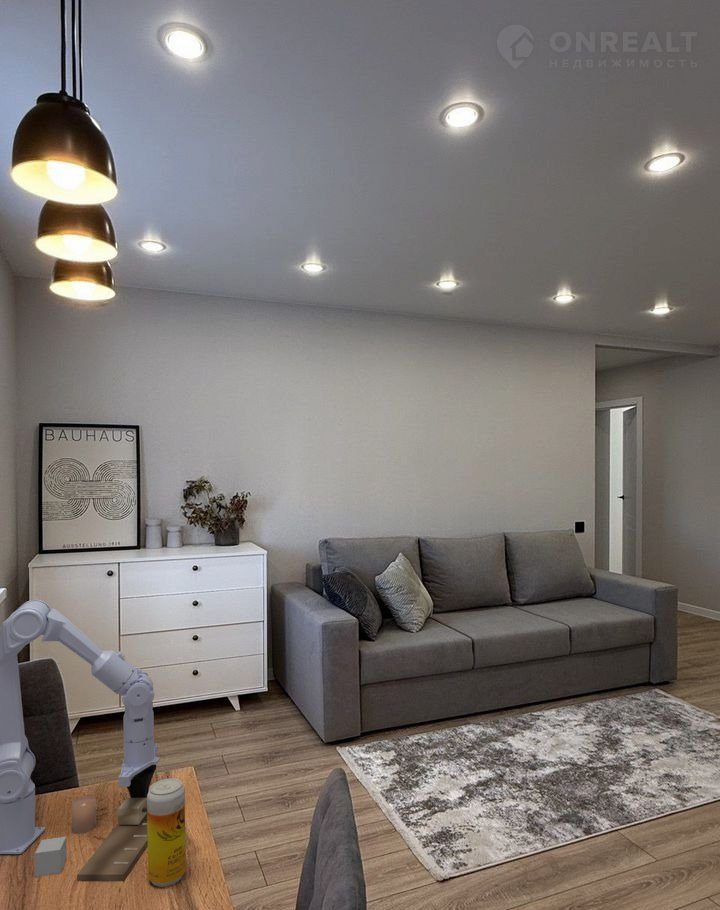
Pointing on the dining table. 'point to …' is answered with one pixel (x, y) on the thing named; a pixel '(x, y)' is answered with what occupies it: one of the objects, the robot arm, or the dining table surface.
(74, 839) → the dining table surface
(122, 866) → the board
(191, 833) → the dining table surface
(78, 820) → the terracotta cylinder
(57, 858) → the grey cube
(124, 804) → the birch slider
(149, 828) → the beer can
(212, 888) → the dining table surface
